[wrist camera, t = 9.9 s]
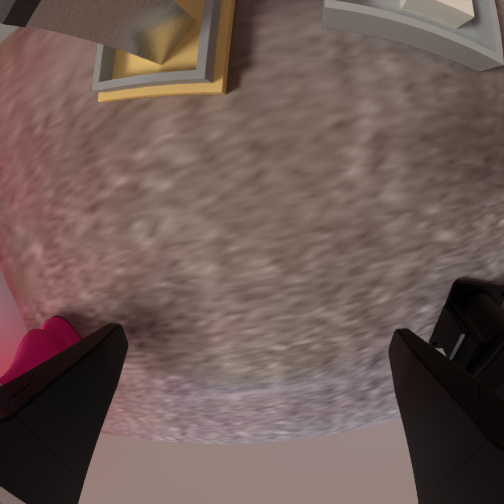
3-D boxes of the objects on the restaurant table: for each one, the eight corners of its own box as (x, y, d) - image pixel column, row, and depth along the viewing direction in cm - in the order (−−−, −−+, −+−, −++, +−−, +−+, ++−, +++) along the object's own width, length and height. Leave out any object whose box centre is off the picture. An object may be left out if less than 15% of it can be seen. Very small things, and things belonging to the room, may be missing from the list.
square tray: (238, -24, 13) (229, -41, 11) (225, 94, 17) (214, 88, 15) (121, -3, 15) (103, -13, 12) (105, 102, 19) (84, 100, 16)
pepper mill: (39, 318, 30) (-55, 408, 12) (63, 306, 28) (-51, 416, 10) (69, 361, 32) (-12, 458, 14) (97, 356, 30) (4, 474, 12)
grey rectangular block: (197, 20, 15) (69, -71, 3) (161, 66, 16) (2, 24, 4) (158, 1, 14) (31, -69, 2) (125, 43, 16) (-21, 8, 4)
